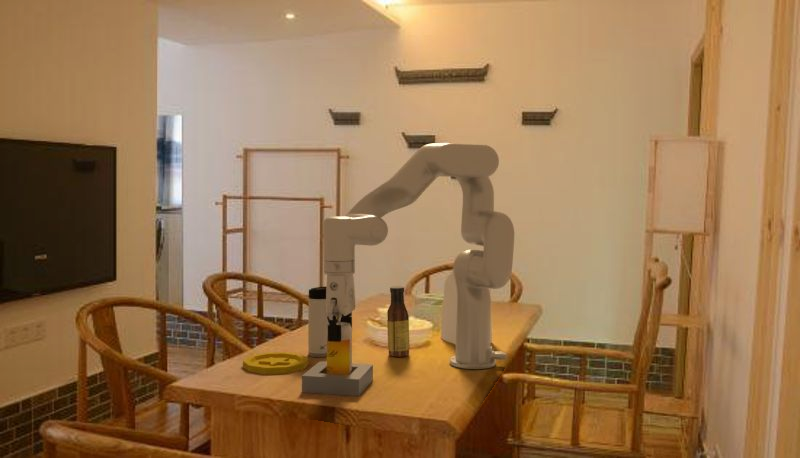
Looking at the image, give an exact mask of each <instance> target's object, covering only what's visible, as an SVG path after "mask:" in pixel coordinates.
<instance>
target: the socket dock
mask: <svg viewBox="0 0 800 458" xmlns="http://www.w3.org/2000/svg"><path fill="white" fill-rule="evenodd" d="M373 380H374V364H370V363H368V364H367V363H355V362H352V373H351V374H350V375H340V374H327V361H323V360H320V361H319V362H317V363H316V364H315V365H313V366H311V368H310V369H309V370H307V371H306V372H304V373H303V374H301V393H305V394H306V393H308V394H319V395H320V394H321V395H322V394H324V395H334V396H335V395H337V396H350V397H351V396H352V397H360V396H361V394H363V392H364V391H366V389H367V388H368V387H369V385H371V383H372V381H373Z"/></svg>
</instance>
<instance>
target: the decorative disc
mask: <svg viewBox="0 0 800 458" xmlns="http://www.w3.org/2000/svg"><path fill="white" fill-rule="evenodd" d="M309 360H310V359H309V358H308V357H307V356H305V355H303V354H302V353H296V352H295V353H294V352H287V351H279V352H278V351H274V352H271V351H270V352H262V353H257V354H252V355H248V356H247V357H245V359H243V360H242V368H244V370H246V371H248V372H249V373H250V372H251V373H255V374H256V373H257V374H263V375H278V373H281V374H290V373H293V372H294V371H295V372H298V370H299V371H302V370H305V368H307V366H308V365H309Z"/></svg>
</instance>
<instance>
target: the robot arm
mask: <svg viewBox="0 0 800 458" xmlns="http://www.w3.org/2000/svg"><path fill="white" fill-rule="evenodd" d="M499 164H500V159H499V155H498V152H497V151H496V150H495V149H494V147H491V146H490V145H487V144H471V143H470V144H467V143H452V142H443V143H442V142H440V143H437V142H436V143H428V144H425V145H424V144H423V146H421V147H420V148H418V149H417V151H416V152H414V154H412V156H411V157H410V158H409V159H408V160H407V161H406V162H405V163H404V164H403V165H402V166H401V167H400V168H399V169H398V170H397V172H396V173H395V174H393V176H391V177H390V178H389V179H388V180H386V181H385V182H383V183H382V184H380V185H379V186H378V187H376V188H375V189H373V190H372V191H370V192H368V193H367V194H366V195H364V196H363V197H362V198H361V199H360V200H359V201H358V202H356V204H355V205H353V206H352V208H351V209H349V211H348V212H347V213H346V214H345V215H343V216H341V215H339V216H338V215H337V216H336V215H335V216H328V217H326V218H325V219H324V220H323V222H322V223H323V225H322V227H323V231H322V232H323V233H322V234H323V237H322V239H323V274H324V275H326V286H325V287H326V310H327V314H328V316H327V319H328V321H327V325H328V341H331V342H340V341H341V325H340V322H346V323H350V326H351V328H352V329H353V311H354V310H356V294H355V293H356V291H355V279H354V274H356V262H355V261H356V260H355V258H356V255H355V254H356V252H355V248H356V247H355V246H357V245H359V246H371V247H373V246H378V245H380V244H381V243H383V242H384V241H385V240H386V238H387V237H388V232H389V228H388V227H389V226H388V225H387V222H386V221H385V219H383V217H385V215H388V214H389V213H391V212H394V211H396V210H399V209H402V208H405V207H408V206H410V205H412V204H414V203H415V202H417V200H418V199H419V198H420V197H421V195H423V194H424V192H425V191H426V190H427V189H428V188H429V187H430V186H431V184H433V183H434V181H435V180H437V179H438V178H439V177H450V178H451V177H452V178H453V177H454V178H455V179H456V180H457V182H458V183H459V185H460V188H461V191H462V207H461V209H462V210H461V225H460V226H461V227H460V231H461V232H460V234H461V238H462V239H463V240H464V241H465V242H466V243H467V244H471V245H474V246H481V247H483V250H480V249H479V250H478V249H466V250H464V251H462V252H460V253H459V254H457V256H456V257H455V259H454V262H453V266H452V267H453V268H452V269H453V270H452V271H453V273H454V279H455V285H456V345H455V355H453V356H452V357H450V358H449V364H450V365H451V366H452V367H456V368H459V369H467V370H485V369H491V368H493V367H495V365H496V362H497V361H496V360H499V361H507V353H506V352H503V351H494V350H493V346H492V345H491V343H490V327H491V328H492V296H491V291H490V292H489V289H488V288H490V290H491V289H493V290H499V289H501V288H504V287H505V286H506V285H507V284H508V283H509V282H510V279H511V276H512V270H513V263H514V250H515V249H514V248H515V228H514V224H513V221H512V220H511V218H510V217H509V216H508V215H507V214H506V213H504V212H501V211H495V208H494V207H495V191H494V187H493V184H492V180H491V179H490V177H491V176H492V175H494V174H495V172H496V171H497V170H498V167H499ZM490 296H491V297H490ZM336 317H337V319H336Z"/></svg>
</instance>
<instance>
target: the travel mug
mask: <svg viewBox="0 0 800 458" xmlns="http://www.w3.org/2000/svg"><path fill="white" fill-rule="evenodd" d="M307 309H308V311H307V312H308V318H307V319H308V325H307V327H308V328H307V329H308V336H307V337H308V341H307V343H308V345H307V346H308V353H307V354H308V356H309V357H312V358H327V328H328V325H327V321H328V319H327V316H328V314H327V310H326V286H316V287H313V288H310V289H308V308H307Z"/></svg>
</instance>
